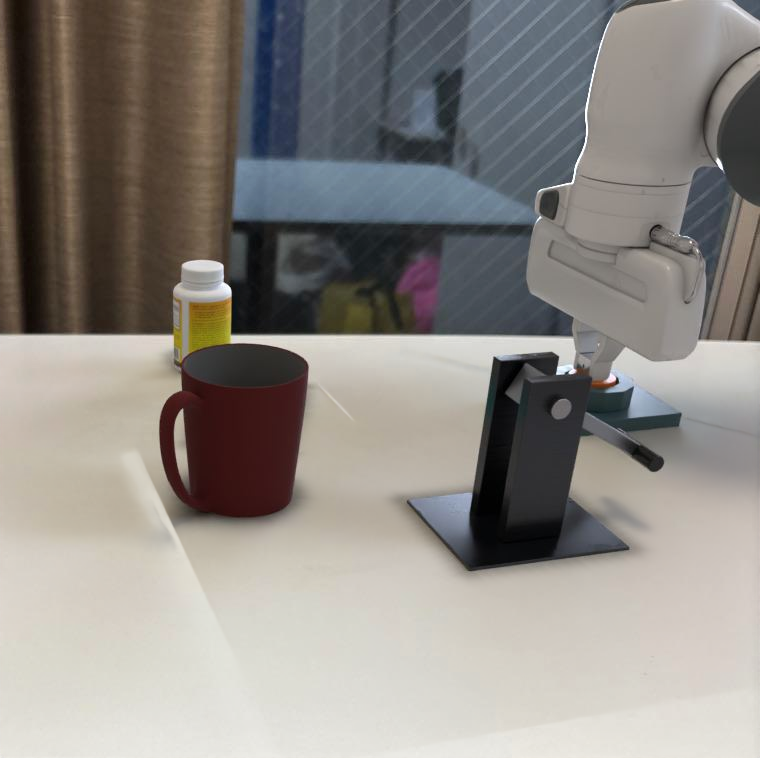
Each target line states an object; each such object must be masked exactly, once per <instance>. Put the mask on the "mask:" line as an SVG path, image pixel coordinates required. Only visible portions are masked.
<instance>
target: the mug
mask: <svg viewBox="0 0 760 758" xmlns="http://www.w3.org/2000/svg"><path fill="white" fill-rule="evenodd" d="M309 369H310V366H309V363H308V361H307V360H306V359H305V358H304V357H303V356H301V355H300V354H298V353H296V352H294V351H292V350H289V349H286V348H283V347H278V346H274V345H268V344H262V343H261V344H260V343H244V342H238V343H237V342H236V343H231V344H221V345H214V346H209V347H205V348H201V349H198V350H196V351H194V352H191V353H189V354H188V355H187V356H186V357H184V359H183V360H182V362H181V372H180V375H181V376H180V381H181V385H180V386H181V390H180V391H176V392H174V393H172V394H171V395H170V396H169V397H168V398H167V399H166V400H165V402H164V404H163V406H162V408H161V411H160V417H159V421H158V422H159V423H158V440H159V441H158V442H159V449H160V456H161V462H162V466H163V470H164V474H165V475H166V479H167V482H168V484H169V486H170V488H171V489H172V491H173V492H174V494H175V495H176V497H177V498H178V499H179V500H180V501H181V503H183V504H184V505H186V506H187V507H189V508H191V509H193V510H195V511H198V512H203V513H206V514H214V515H217V516H222V517H228V518H239V519H245V518H246V519H248V518H250V519H251V518H259V517H265V516H269V515H272V514H275V513H277V512H280V511H282V510H283V509H285V508H286V507H288V506H289V504H290V503H291V502H292V498H293V493H294V487H295V481H296V474H297V473H296V472H297V467H298V461H299V454H300V447H301V439H302V433H303V426H304V419H305V418H304V417H305V410H306V403H307V395H308V394H307V393H308V386H309V385H308V384H309ZM181 411H182V412H183V413H182V415H183V428H184V440H185V449H186V460H187V461H186V462H187V471H188V472H187V473H188V482H189V483H188V484H189V490H187V488H186V486H185V485H184V481H183V480H182V476H181V474H180V470H179V467H178V461H177V454H176V444H175V427H176V420H177V418H178V416H179V414H180V413H181Z"/></svg>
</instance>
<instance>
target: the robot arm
mask: <svg viewBox="0 0 760 758" xmlns="http://www.w3.org/2000/svg"><path fill="white" fill-rule="evenodd" d="M601 39H602V40H601V42H600V45H599V49H598V53H597V56H596V60H595V63H594V69H593V73H592V77H591V81H590V86H589V91H588V96H587V101H586V106H585V125H586V129H585V130H586V133H585V141H584V145H583V148H582V151H581V152H580V155H579V157H578V158H577V162H576V163H575V167H574V173H573V178H572V182H568V183H564V184H559V185H555V186H552V187H546V188H541V189H540V190H538V191H537V193H536V196H535V202H534V212H535V214H536V215H537V216H538V217H539V218H537V220H536V221H535V223H534V226H533V229H532V233H531V237H530V242H529V249H528V254H527V255H528V257H527V263H526V271H525V279H526V284H527V288H528V291H529V294H531V295H533V296H535V297H537V298H538V299H540V300H542V301H544V302H545V303H547V304H549V305H551V306H552V307H554V308H556V309H558V310H559V311H561V312H563V313H565V314H566V315H568V316H570V317H572V318H573V319H572V320H573V321H572V326H571V333H572V336H573V337H572V339H573V345H574V349H575V350H574V351H575V355H574V361H573V364H572V365H573V367H574V369H575V370H577V371H578V372H580V373H586V374H588V375H589V376H591V377H592V381H594V382H595V381H605V380H607V379H608V378H609V376H610V372H611V369H612V368H613V362H615V361H616V359H617V358H618V357H619V356H620V354H621V353H622V352H623V351H624V349H625V348H627V349H628V350H631V351H632V352H634V353H636V354H637V355H639V356H641V357H642V358H644V359H646V360H648V361H650V362H654V363H656V362H657V363H659V362H672V361H681V360H682V361H683V360H684V359H687V358H688V357H690V356H691V355H692V353H693V352H694V351H695V350H696V349H697V346H698V342H699V337H700V333H701V328H702V322H703V315H704V309H705V302H706V294H707V274H706V265H707V263H706V259H704V258H703V255H702V254H703V253H702V251H701V250H700V249H699V243H698V242H697V241H696V240H695V239H694V238H692V237H690V236H685V235H684V236H683V235H680V232H681V227H682V224H683V219H684V215H685V211H686V207H687V202H688V198H689V194H690V191H691V190H690V189H691V185H692V183H693V182H692V181H693V178H694V174H695V172H696V170H698V169H699V168H702V167H712V168H713V167H714V168H720V170H722V173H723V174H724V176H725V178H726V180H727V182H728V184H729V186H730V187H731V188H732V189H733V191H734V192H735V193H736V194H737V195H738V196H740V198H742V199H743V200H745V201H746V202H748V203H750V204H752V205H753V206H756V207H758V208H760V20H759V19H758V18H756V17H754V16H753V15H752V14H751V13H749V12H748V11H746V10H744V9H743V8H742V7H740V6H739V5H738V4H737V3H736V2H735V1H733V0H626V1H625V2H624V3H623V4H621V5H620V7H618V8H617V9H616V10H615V11H614V13H613V14H612V16H611V17H610V19H609V21H608V23H607V25H606V28H605V30H604V33H603V36H602V38H601Z"/></svg>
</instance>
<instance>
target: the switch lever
mask: <svg viewBox="0 0 760 758" xmlns="http://www.w3.org/2000/svg"><path fill="white" fill-rule="evenodd" d="M538 376H547V375H546V374H544V373H542V372H541V371H539V370H537V369H536V368H534V367H532V366H531V365H529V364H527V363H525V364H524V366H523V367H522V369H521V370H520V371H519V373H518V374H517V376H516V377H515V379H514V380H513V382H512V383H511V385H510V386H509V387H508V389H507V390H506V392H505V394H506V395H507V396H508V397H510V398H511V399H512V400H514V401H515V402H516V403H518V404H520V398H521V392H522V386H523V380H524V378H527V377H538ZM582 428H583V429H585V430H587V431H589V432H590V433H592V434H594V435H593V436H595V437H597V438H598V439H600V440H602V441H604V442H605V443H607V444H609V445H611V446H613V447H615V448H616V449H618V450H620V451H621V452H622V453H624V454H625V455H626V456H628V457H630V458H631V459H632V460H634V461H635V462H637V464H639V465H641V466H642V467H644V468H645V469H646V470H647V471H649V472H651V473H657V472H659V471H660V470H662V468H663V467H664V465H665V459H664V457H663V456H662V455H660V454H658V453H657V452H656V451H654V450H652V449H651V448H649V447H648V446H647V445H646V444H644V443H642V442H641V441H640V440H638V439H637V438H635V437H633V436H632V435H630V434H629V433H628V432H624V431H623V430H621V429H620V428H613V427H611V426H610V425H608V424H606V423H605V422H603V421H601V420H599V419H598V418H596V417H594V416H593V415H591V414H589V413H588V412H585V417H584V422H583V427H582Z"/></svg>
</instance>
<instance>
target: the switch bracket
mask: <svg viewBox="0 0 760 758" xmlns="http://www.w3.org/2000/svg"><path fill="white" fill-rule="evenodd" d="M559 361H560V355H558V354H557V353H555V352H554V351H542V352H541V351H540V352H530V353H519V354H517V353H516V354H505V355H495V356H492V364H491V371H490V377H489V383H488V389H487V397H486V401H485V402H486V403H485V409H484V415H483V422H482V427H481V428H482V429H481V430H482V431H481V436H480V441H479V448H478V455H477V460H476V461H477V462H476V468H475V475H474V482H473V487H472V488H473V489H472V491H471V492H464V493H455V494H454V493H453V494H446V495H445V494H444V495H438V496H437V495H436V496H428V497H420V498H419V497H418V498H411V499H410V498H409V499H407V500H406V504H407V505H409V507H410V508H411V509H412V510H413V512H415V514H417V515H418V517H419V518H420V519H421V520H422V521H423V522H424V524H425V525H426V526H428V528H429V529H430V530H431V531H432V532H433V533H434V535H436V537H437V538H438V539H439V540H440V541H441V542H442V543H443V544H444V546H445V547H446V548H447V549H448V550H449V551H450V552H451V553H452V555H454V557H456V559H457V560H458V561H459V562H460V563H461V565H462V566H463V567H465V569H466V570H467V571H468V572H474V571H475V572H476V571H482V570H490V569H497V568H498V569H499V568H507V567H511V566H512V567H514V566H519V565H520V566H521V565H529V564H534V563H543V562H549V561H556V560H557V561H558V560H564V559H571V558H579V557H586V556H595V555H601V554H609V553H615V552H616V553H617V552H625V551H630V546H629V545H628V544H626V543H625V542H624V541H623V540H622V539H620V538H619V537H618V536H617V535H616V534H615V533H613V531H611V530H610V529H609V528H607V527H606V526H605V525H604V524H602V523H601V522H600V520H598V519H597V518H595V517H594V516H593V515H592V514H590V512H588V511H587V510H586V509H585V508H583V507H582V506H581V505H580V504H578V503H577V502H576V501H575V500H573V498H571V497H570V496H569V495H570V490H571V484H572V480H573V475H574V470H575V465H576V461H577V456H578V451H579V447H580V446H579V445H580V442H581V437H582V436H581V432H582V427H583V422H584V417H585V412H586V408H587V403H588V398H589V393H590V388H591V383H592V377H591V376H589V375H588V374H586V373H572V374H561V375H556V372H557V367H559ZM525 363H527V364H529V365H531V366H532V367H534V368H536V369H537V370H539V371H541V372H542V373H544V374H546V375H547V376H538V377H527V378H524V380H523V386H522V392H521V398H520V404H518V403H516V402H515V401H514V400H512V399H511V398H510V397H508V396H507V395H506V394H505V392H506V390H507V389H508V387H509V386H510V385H511V383H512V382H513V380H514V379H515V377H516V376H517V374H518V373H519V371H520V370H521V369H522V367H523V366H524V364H525Z"/></svg>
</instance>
